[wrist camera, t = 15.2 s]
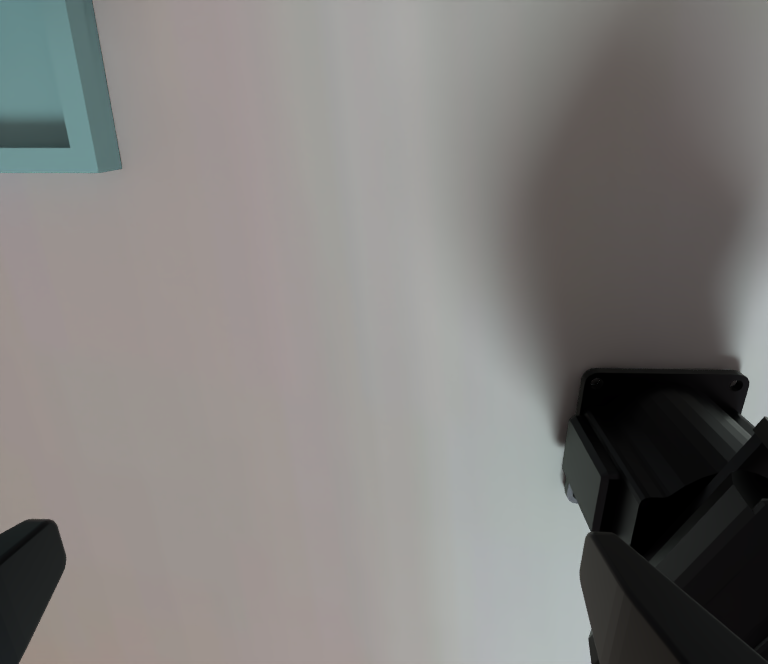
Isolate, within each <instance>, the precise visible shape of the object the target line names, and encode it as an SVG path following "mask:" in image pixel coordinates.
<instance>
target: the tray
mask: <svg viewBox="0 0 768 664" xmlns="http://www.w3.org/2000/svg"><path fill="white" fill-rule="evenodd" d="M118 169H122V166H121V160H120V154H119V149H118V143H117V138H116V132H115V127H114V121H113V115H112V110H111V104H110V99H109V93H108V88H107V82H106V77H105V71H104V65H103V60H102V54H101V49H100V43H99V38H98V32H97V26H96V21H95V15H94V10H93V4H92V0H0V173H101V172H107V171H112V170H118Z"/></svg>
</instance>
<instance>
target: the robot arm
mask: <svg viewBox="0 0 768 664" xmlns="http://www.w3.org/2000/svg"><path fill="white" fill-rule="evenodd" d="M596 378H600V381H599V382H598V383H597V384H594V385H591V382H592V380H594V379H596ZM735 380H737V382H736V384H735V385H733V386H731V387H730V384H731V383H732V382H733V381H735ZM748 388H749V380H748V378H747V377H745V376H744V375H743V374H742V373H740V372H739V371H735V370H686V369H614V368H594V369H590V370H588V371H586V372H585V373H584V374H583V376H582V379H581V385H580V391H579V398H578V404H577V411H576V415H574V416H573V417H572V418H571V419H570V420H569V424H568V430H567V437H566V444H565V450H564V457H563V464H562V469H563V471H564V473H565V476H566V482H565V493H566V496H567V498H568V499H569V501H571V502H572V503H578V504H579V507H580V509H581V511H582V513H583V515H584V518H585V520H586V522H587V524H588V526H589V529H590V531H591V532H589V533H588V534H587V536H586V538H585V543H584V548H583V554H582V560H581V565H580V582H581V587H582V591H583V595H584V600H585V604H586V608H587V612H588V616H589V620H590V624H591V628H592V629H591V632H590V635H589V647H590V655H591V663H592V664H768V417H764V418H763V419H762V420H761V421H760V422H759V423H758V424H757V425H756V426H755V427H754V426H753V425H752V424H751V423H750V422H749V421H748V420H746V419H745V418H744V417H743V416H742V415H741V412H742V409H743V405H744V402H745V398H746V395H747V391H748ZM65 565H66V553H65V550H64V547H63V543H62V540H61V536H60V533H59V530H58V526H57V524H56V523H55V522H54V521H53V520H50V519H28V520H25V521H23V522H21V523H19V524H18V525H16V526H14V527H12V528H10V529H9V530H7V531H5V532H3V533H1V534H0V664H19V662H20V660H21V658H22V656H23V654H24V652H25V650H26V648H27V646H28V644H29V642H30V640H31V638H32V636H33V634H34V632H35V630H36V628H37V626H38V624H39V622H40V619H41V617H42V615H43V613H44V611H45V609H46V607H47V605H48V603H49V601H50V599H51V597H52V595H53V592H54V590H55V588H56V586H57V584H58V582H59V580H60V578H61V576H62V574H63V571H64V569H65Z"/></svg>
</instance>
